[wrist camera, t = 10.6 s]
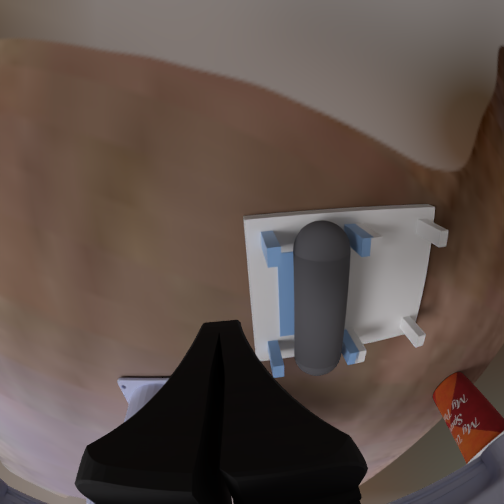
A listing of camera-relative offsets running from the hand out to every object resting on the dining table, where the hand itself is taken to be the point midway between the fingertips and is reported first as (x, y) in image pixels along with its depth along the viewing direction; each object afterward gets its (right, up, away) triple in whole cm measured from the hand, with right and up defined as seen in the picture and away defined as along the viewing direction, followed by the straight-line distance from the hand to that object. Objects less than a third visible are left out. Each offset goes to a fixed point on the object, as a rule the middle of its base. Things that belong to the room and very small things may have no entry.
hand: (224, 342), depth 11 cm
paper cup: (+29, -16, +20) cm, 38 cm away
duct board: (+8, +1, +12) cm, 14 cm away
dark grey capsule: (+5, 0, +10) cm, 12 cm away
